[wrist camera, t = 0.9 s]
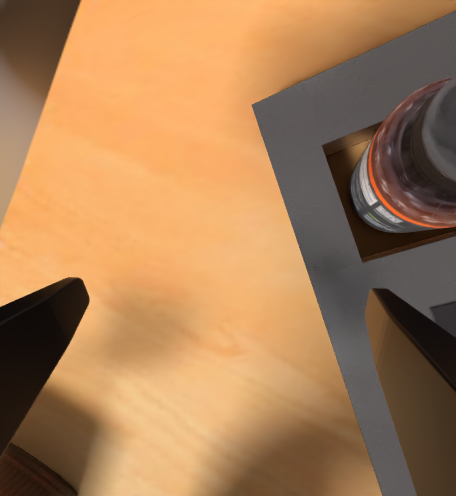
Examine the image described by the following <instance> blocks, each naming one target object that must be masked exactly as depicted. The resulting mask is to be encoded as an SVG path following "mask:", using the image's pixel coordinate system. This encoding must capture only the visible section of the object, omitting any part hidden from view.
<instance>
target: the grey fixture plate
mask: <svg viewBox="0 0 456 496" xmlns="http://www.w3.org/2000/svg"><path fill="white" fill-rule="evenodd" d="M455 76H456V11H454V12H452V13H450V14H448V15H446V16H444V17H441V18H439V19H437V20H435V21H433V22H431V23H428V24H426V25H424V26H422V27H420V28H417V29H415V30H413V31H411V32H409V33H407V34H404V35H402V36H400V37H398V38H396V39H394V40H391V41H389V42H387V43H385V44H383V45H381V46H378V47H376V48H374V49H372V50H370V51H367V52H365V53H363V54H361V55H359V56H357V57H354V58H352V59H350V60H348V61H346V62H344V63H341V64H339V65H337V66H335V67H333V68H331V69H328V70H326V71H324V72H322V73H320V74H318V75H315V76H313V77H311V78H309V79H307V80H304V81H302V82H300V83H298V84H296V85H294V86H291V87H289V88H287V89H285V90H283V91H281V92H278V93H276V94H274V95H272V96H270V97H268V98H265V99H263V100H261V101H259V102H257V103H255V104H252V107H253V110H254V113H255V116H256V119H257V122H258V125H259V128H260V131H261V134H262V137H263V140H264V143H265V146H266V149H267V152H268V155H269V158H270V161H271V164H272V167H273V170H274V173H275V176H276V179H277V182H278V185H279V188H280V191H281V194H282V197H283V200H284V203H285V206H286V209H287V212H288V215H289V218H290V221H291V224H292V227H293V230H294V233H295V236H296V239H297V242H298V245H299V248H300V251H301V254H302V256H303V259H304V262H305V265H306V268H307V271H308V274H309V277H310V280H311V283H312V286H313V289H314V292H315V295H316V298H317V301H318V304H319V307H320V310H321V313H322V316H323V319H324V322H325V325H326V328H327V331H328V334H329V337H330V340H331V343H332V346H333V349H334V352H335V355H336V358H337V361H338V364H339V367H340V370H341V373H342V376H343V379H344V382H345V385H346V388H347V391H348V394H349V397H350V400H351V403H352V406H353V409H354V412H355V415H356V418H357V421H358V423H359V426H360V429H361V432H362V435H363V438H364V441H365V444H366V447H367V450H368V453H369V456H370V459H371V462H372V465H373V468H374V471H375V474H376V477H377V480H378V483H379V486H380V489H381V492H382V495H383V496H417V494H416V491H415V488H414V485H413V482H412V479H411V476H410V473H409V470H408V467H407V464H406V460H405V457H404V454H403V451H402V448H401V445H400V442H399V439H398V436H397V433H396V430H395V427H394V424H393V421H392V418H391V415H390V411H389V408H388V405H387V402H386V399H385V396H384V393H383V390H382V387H381V384H380V381H379V378H378V375H377V371H376V368H375V363H374V358H373V353H372V348H371V343H370V338H369V333H368V328H367V323H366V317H365V311H366V306H367V301H368V296H369V292H370V290H371V289H372V288H386V289H389V290H390V291H392V292H393V293H394V294H396V295H397V296H399V297H400V298H401V299H403V300H404V301H406V302H407V303H408V304H410V305H411V306H413V307H414V308H415V309H417V310H418V311H420V312H421V313H422V314H424V315H425V316H427V317H428V318H429V319H431V320H432V321H434V322H435V323H436V324H438V325H439V326H441V327H442V328H443V329H445V330H446V331H448V332H449V333H450V334H452V335H453V336H455V337H456V231H452V232H449V233H446V234H442V235H439V236H435V237H432V238H428V239H425V240H422V241H418V242H415V243H411V244H408V245H404V246H401V247H398V248H394V249H391V250H387V251H384V252H380V253H377V254H373V255H370V256H367V257H363V258H361V257H360V254H359V252H358V249H357V246H356V243H355V240H354V237H353V234H352V231H351V229H350V226H349V223H348V220H347V217H346V214H345V211H344V208H343V206H342V203H341V200H340V197H339V194H338V191H337V188H336V185H335V183H334V180H333V177H332V174H331V171H330V168H329V165H328V162H327V160H326V157H325V156H327V155H330V154H333V153H335V152H338V151H340V150H343V149H346V148H348V147H351V146H353V145H356V144H358V143H361V142H364V141H366V140H369V139H371V138H373V137H374V135H375V134H376V132H377V131H378V129H379V128H380V126H381V124H382V123H383V121H384V120H385V119H386V117H387V116H388V115H389V114H390V113H391V111H392V110H393V109H394V108H395V107H396V106H397V105H398V104H399V103H400V102H401V101H403V100H404V99H405V98H406V97H408V96H409V95H411V94H412V93H413V92H415V91H416V90H418V89H420V88H422V87H424V86H425V85H428V84H431V83H433V82H435V81H438V80H442V79H445V78H450V77H455Z"/></svg>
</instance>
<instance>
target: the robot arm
mask: <svg viewBox="0 0 456 496" xmlns="http://www.w3.org/2000/svg"><path fill="white" fill-rule="evenodd" d="M88 305H89V295H88V292H87V290H86V287H85V285H84V282H83V280H82V279H81V278H77V277H68V278H65V279H63V280H61V281H58V282H56V283H54V284H51V285H49V286H47V287H45V288H42V289H40V290H38V291H35V292H33V293H31V294H29V295H26V296H24V297H22V298H19V299H17V300H15V301H13V302H10V303H8V304H6V305H4V306H1V307H0V458H1V456H2V454H3V453H4V451H5V449H6V448H7V446H8V445H9V443H10V441H11V440H12V438H13V436H14V435H15V433H16V431H17V430H18V428H19V426H20V425H21V423H22V421H23V420H24V418H25V417H26V415H27V413H28V412H29V410H30V408H31V407H32V405H33V403H34V402H35V400H36V398H37V397H38V395H39V393H40V392H41V390H42V389H43V387H44V385H45V384H46V382H47V380H48V379H49V377H50V375H51V374H52V372H53V370H54V369H55V367H56V365H57V364H58V362H59V360H60V359H61V357H62V356H63V354H64V352H65V351H66V349H67V347H68V345H69V344H70V342H71V340H72V338H73V336H74V334H75V332H76V329H77V327H78V325H79V323H80V321H81V319H82V317H83V315H84V313H85V311H86V309H87V307H88ZM365 317H366V323H367V328H368V333H369V338H370V343H371V348H372V353H373V358H374V363H375V368H376V371H377V375H378V378H379V381H380V384H381V387H382V390H383V393H384V396H385V399H386V402H387V405H388V408H389V411H390V415H391V418H392V421H393V424H394V427H395V430H396V433H397V436H398V439H399V442H400V445H401V448H402V451H403V454H404V457H405V460H406V464H407V467H408V470H409V473H410V476H411V479H412V482H413V485H414V488H415V491H416V494H417V496H456V337H455V336H453V335H452V334H450V333H449V332H448V331H446V330H445V329H443V328H442V327H441V326H439V325H438V324H436V323H435V322H434V321H432V320H431V319H429V318H428V317H427V316H425V315H424V314H422V313H421V312H420V311H418V310H417V309H415V308H414V307H413V306H411V305H410V304H408V303H407V302H406V301H404V300H403V299H401V298H400V297H399V296H397V295H396V294H394V293H393V292H392V291H390V290H389V289H386V288H372V289H371V290H370V292H369V296H368V301H367V306H366V311H365Z"/></svg>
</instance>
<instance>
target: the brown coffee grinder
mask: <svg viewBox="0 0 456 496" xmlns="http://www.w3.org/2000/svg"><path fill="white" fill-rule="evenodd" d="M75 494H76V492H75V491H74V490H73V489H72V488H71V487H70V486H69V485H68V484H67V483H66V482H65V481H64V480H63V479H62V478H61V477H60V476H59V475H58V474H56V473H55V472H54V471H52V470H51V469H49V468H48V467H47V466H45V465H44V464H42V463H41V462H39V461H38V460H37V459H35V458H34V457H32V456H31V455H30V454H28V453H27V452H25V451H24V450H22V449H21V448H19V447H17V446H15V445H13V444H11V443H9V445H8V446H7V448H6V449H5V451H4V453H3V454H2V456H1V458H0V496H75Z"/></svg>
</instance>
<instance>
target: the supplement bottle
mask: <svg viewBox="0 0 456 496" xmlns="http://www.w3.org/2000/svg"><path fill="white" fill-rule="evenodd" d="M349 199H350V203H351V206H352V208H353V210H354V212H355V213H356V214H357V216H358V217H359V218H360V219H361V220H362V221H363V222H365V223H366V224H367V225H369V226H370V227H372V228H375V229H377V230H380V231H384V232H389V233H406V232H415V231H423V230H433V229H441V228H449V227H456V76H455V77H450V78H445V79H442V80H438V81H435V82H433V83H431V84H428V85H425V86H424V87H422V88H420V89H418V90H416V91H415V92H413V93H412V94H411V95H409V96H408V97H406V98H405V99H404V100H403V101H401V102H400V103H399V104H398V105H397V106H396V107H395V108H394V109H393V110H392V111H391V113H390V114H389V115H388V116H387V117H386V119H385V120H384V121H383V123H382V124H381V126H380V128H379V129H378V131H377V132H376V134H375V135H374V137H373V139H372V140H371V142H370V144H369V145H368V147H367V149H366V150H365V152H364V154H363V155H362V157H361V159H360V160H359V162H358V164H357V165H356V167H355V169H354V171H353V173H352V175H351V178H350V182H349Z"/></svg>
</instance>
